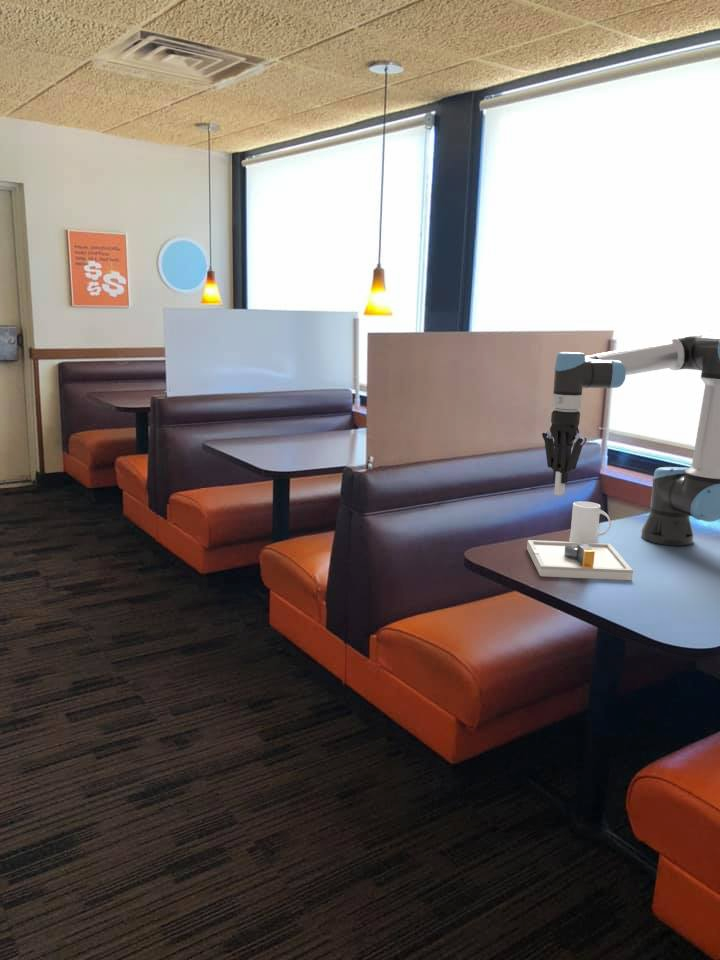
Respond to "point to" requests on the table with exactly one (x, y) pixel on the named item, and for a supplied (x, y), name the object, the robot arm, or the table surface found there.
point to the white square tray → (558, 565)
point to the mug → (586, 522)
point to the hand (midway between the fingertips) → (559, 494)
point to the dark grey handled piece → (581, 554)
